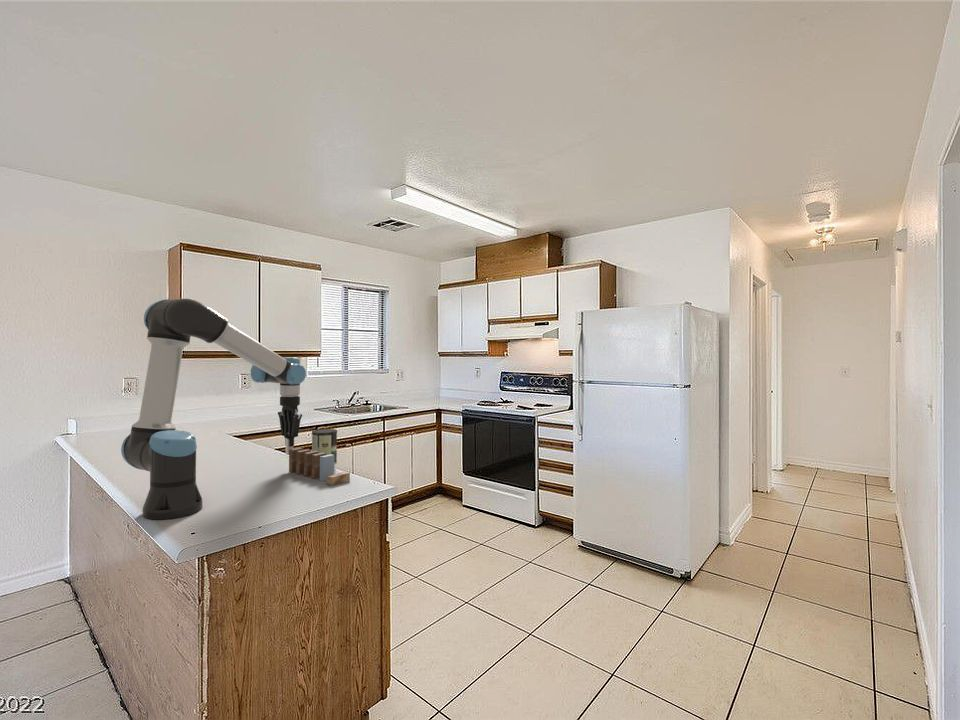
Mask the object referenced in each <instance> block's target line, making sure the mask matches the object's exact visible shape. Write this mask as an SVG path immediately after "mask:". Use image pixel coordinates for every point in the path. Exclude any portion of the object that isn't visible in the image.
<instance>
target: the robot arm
mask: <svg viewBox="0 0 960 720" xmlns="http://www.w3.org/2000/svg"><path fill="white" fill-rule="evenodd" d="M143 323H144V326H145V327H146V329H147V336H146V339H147V341H148V342H149V343H150V344H151V347H150V353H149V358H148V364H147V369H146V376H145V382H144V389H143V395H142V400H141V405H140V410H139V411H140V412H139V418H138V420H137V421H136V422H134V423H133V424H132V425H131V429H130V434H128V435H127V436H126V437H125V438H124V440H123V442H122V443H121V448H120V451H121V456H122V458H123V461H125V463H127V464H128V465H130V466H131V467H133V468H135V469H138V470H141V471H142V470H143V471H147V472H149V490H148V492H147V495H146V497H145V501H144V503H143V506H142V517H144V518H145V519H149V520H168V519H176V518H181V517H182V518H183V517H186V516H189V515H192V514H195V513H197V512H199V511H201V510H202V509H203V497H202V495H201V492H200V490H199V488H198V485H197V438H196V436H195V435H194V434H193V433H191V432H189V431H187V430H186V431H185V430H177V429H176V426H175V425H174V423H172V418H173V412H174V406H175V401H176V400H175V399H176V394H177V389H178V381H179V376H180V370H181V365H182V358H183V357H182V356H183V351H184V349H185V347H187V346H189V345H190V342H191V337H193V338H197V339H199V340H202V341H203V342H206V343H207V344H213V343H214V344H216V345H218V346H220V347H221V348H223V349H224V350H226V351H228V352H230V353H232V354H233V355H236V356H237V357H239V358H240V359H241V360H242V359H243V361H245V362H247V363H249V364H251V365H252V366H251V368H250V377H251V380H252V381H253V382H254V383H257V384H259V383H261V384H264V383H274V384H279V395H280V396H279V406H281V411H278V412H277V415H278V418H279V426H280V433H281V436H282V437H284V446H285V447H284V448H285V453H284V454H285V455H286V456H289V450H290V449H295V448H294V446H295V438H296V437H297V438H298V436H299V431H300V426H301V419H302V417H303V414H302V413H299V409H298V406H300V405H301V396H300V393H301V387H300V386H301V383H303V382H305V379H306V377H307V371H306V369H305V366H303V365H302V364H301V359H300V358H299V357H291V356H290V357H289V356H287V357H286V356H284V357H283V356H281V355H279V354H277V353H276V352H275V351H273V350H271V349H270V348H269V347H267V346H266V345H263V344H262V343H260V342H259V341H257V340H256V339H254V338H253V337H252V336H249V335H247V333H245V332H243V331H241V330H240V329H238V328H237V327H235V326H233V325H231V324H230V323H229V320H228V318H227V317H225V316H223V314H221V313H219V312H218V311H216V310H214V309H213V308H211V307H209V306H207V305H206V304H203V303H202V302H200V301H198V300H196V299H191V298H175V299H173V298H172V299H168V298H167V299H166V298H165V299H161V300H158V301H156V302H154V303H152V304H150V305H149V306H148V307H147V309H146V310H145V311H144V314H143Z"/></svg>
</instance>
